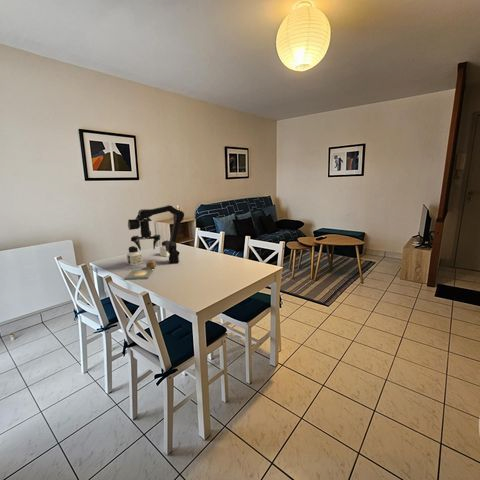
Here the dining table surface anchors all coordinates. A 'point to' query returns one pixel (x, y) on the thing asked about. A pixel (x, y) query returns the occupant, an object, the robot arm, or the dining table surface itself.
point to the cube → (150, 265)
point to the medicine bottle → (164, 249)
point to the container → (134, 256)
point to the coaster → (139, 274)
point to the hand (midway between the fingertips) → (147, 249)
